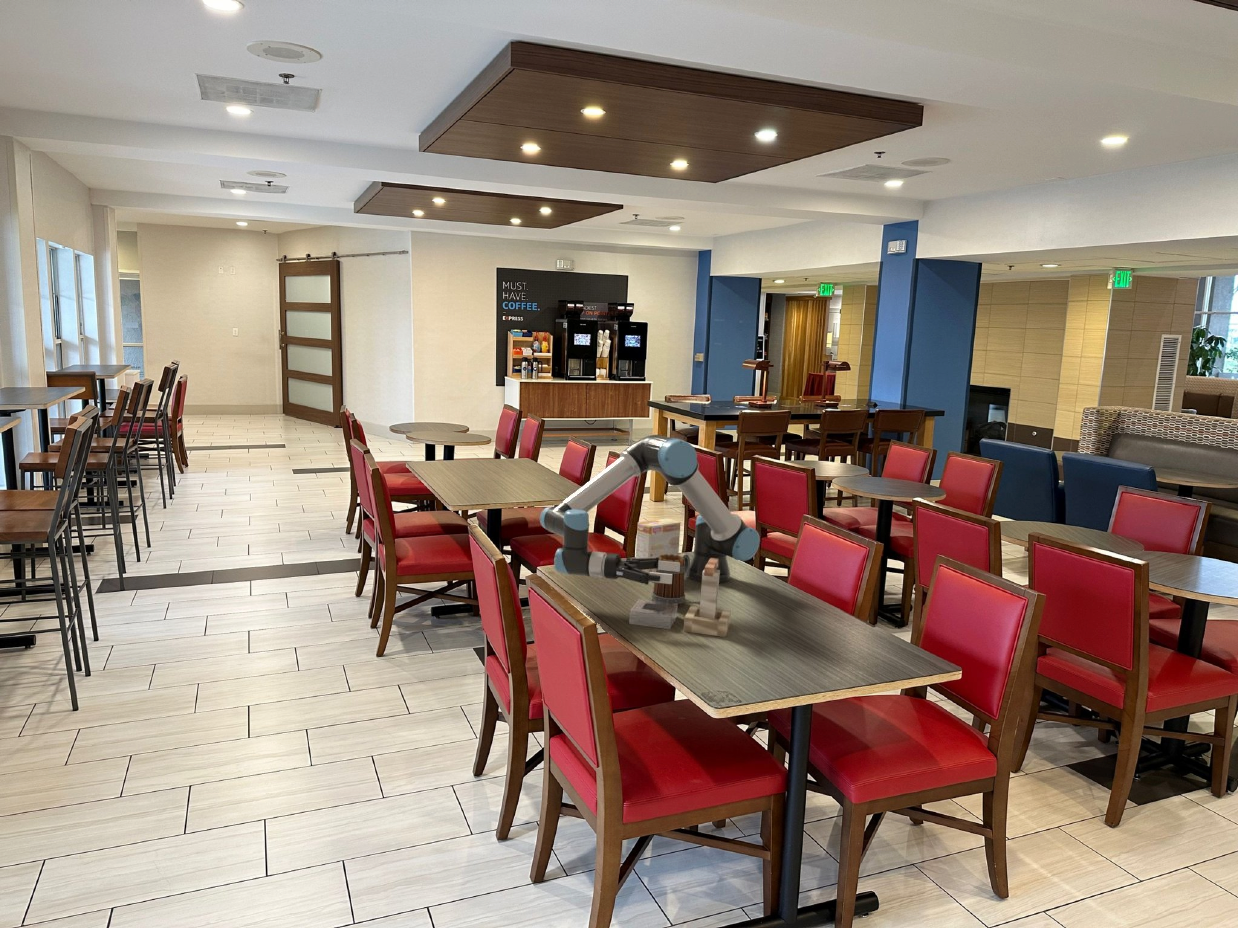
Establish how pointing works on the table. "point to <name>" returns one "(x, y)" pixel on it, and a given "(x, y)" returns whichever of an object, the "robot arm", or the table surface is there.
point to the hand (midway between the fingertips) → (676, 573)
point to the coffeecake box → (657, 539)
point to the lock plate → (653, 614)
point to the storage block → (707, 622)
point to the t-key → (709, 589)
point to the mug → (676, 589)
